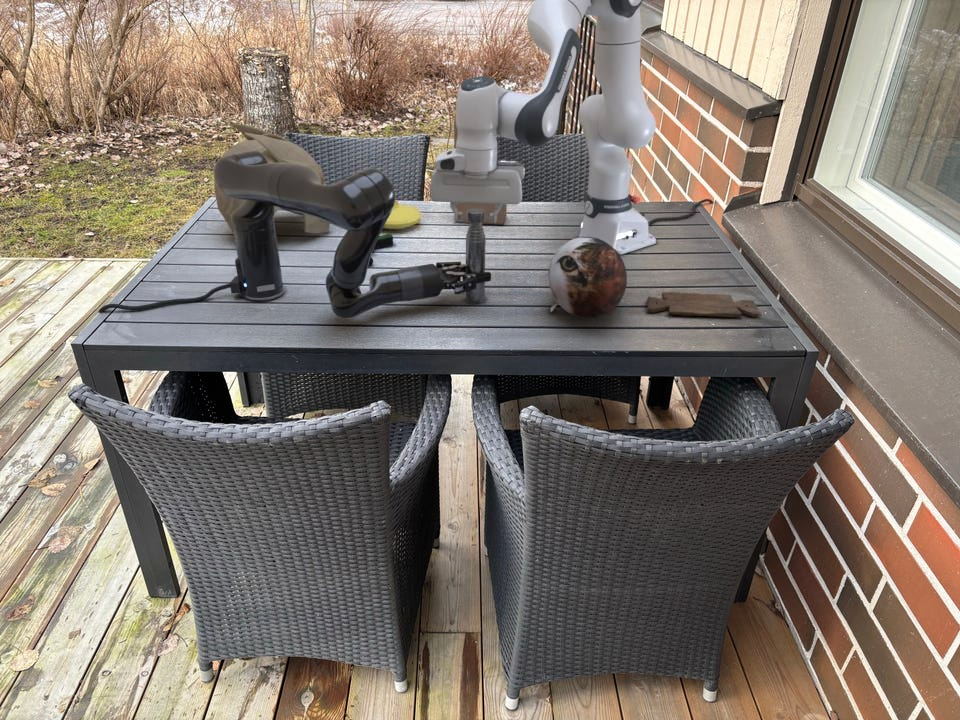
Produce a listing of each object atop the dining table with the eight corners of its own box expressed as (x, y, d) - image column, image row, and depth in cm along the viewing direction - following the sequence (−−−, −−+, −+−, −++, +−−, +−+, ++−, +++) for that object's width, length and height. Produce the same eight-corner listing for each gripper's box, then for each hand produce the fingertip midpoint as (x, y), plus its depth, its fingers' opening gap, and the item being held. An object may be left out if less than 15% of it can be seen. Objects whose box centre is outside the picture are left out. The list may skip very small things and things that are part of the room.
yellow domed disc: (376, 214, 219) (375, 191, 216) (426, 217, 218) (426, 194, 214) (362, 232, 206) (360, 208, 202) (415, 235, 204) (415, 212, 201)
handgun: (350, 260, 182) (332, 238, 193) (351, 270, 183) (333, 248, 194) (409, 250, 188) (388, 230, 200) (409, 261, 190) (389, 240, 201)
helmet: (343, 239, 203) (337, 131, 188) (240, 258, 188) (224, 142, 173) (305, 212, 222) (297, 112, 207) (209, 227, 207) (192, 120, 192)
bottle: (465, 303, 168) (465, 217, 157) (466, 295, 171) (466, 210, 161) (484, 304, 168) (485, 217, 157) (484, 295, 171) (486, 211, 161)
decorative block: (503, 225, 212) (507, 121, 197) (454, 222, 214) (453, 119, 199) (506, 217, 219) (509, 115, 204) (458, 214, 221) (458, 113, 205)
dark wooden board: (642, 297, 172) (648, 316, 163) (643, 291, 171) (649, 310, 162) (751, 300, 171) (762, 319, 162) (752, 293, 170) (764, 313, 161)
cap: (464, 218, 160) (464, 209, 159) (480, 216, 162) (480, 207, 161) (471, 224, 157) (471, 215, 156) (487, 222, 159) (487, 212, 158)
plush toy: (524, 268, 172) (583, 208, 164) (577, 314, 177) (637, 258, 168) (521, 307, 153) (588, 241, 144) (581, 357, 157) (649, 296, 149)
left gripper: (426, 279, 154) (499, 268, 159) (406, 255, 165) (474, 246, 171) (427, 311, 158) (498, 298, 163) (407, 285, 169) (474, 275, 175)
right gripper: (525, 156, 155) (522, 218, 162) (431, 153, 156) (432, 214, 163) (524, 164, 149) (522, 228, 156) (427, 161, 150) (429, 224, 157)
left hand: (485, 272), depth 167 cm, fingers closed on bottle, 4 cm apart
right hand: (475, 221), depth 160 cm, fingers open, 6 cm apart
